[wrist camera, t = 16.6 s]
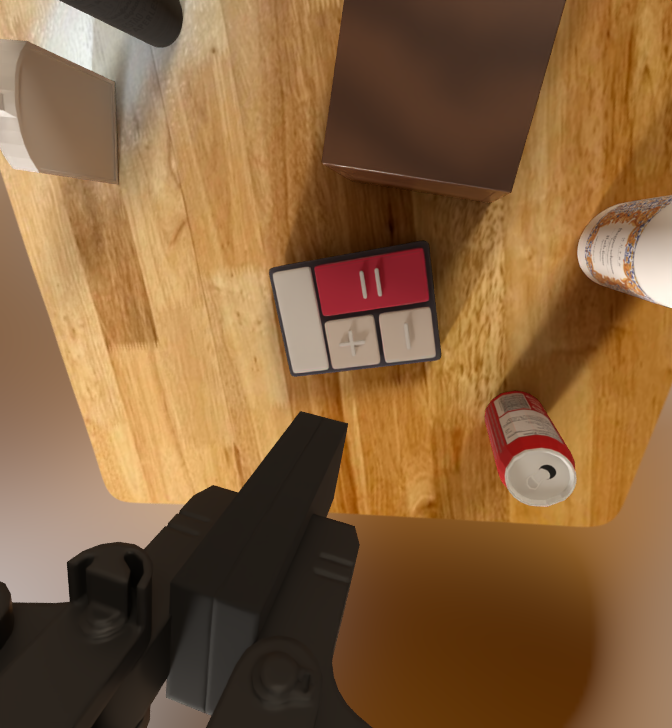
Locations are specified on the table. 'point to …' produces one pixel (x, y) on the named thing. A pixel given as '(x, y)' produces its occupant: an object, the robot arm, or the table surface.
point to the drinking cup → (137, 17)
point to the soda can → (529, 450)
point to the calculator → (358, 310)
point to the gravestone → (56, 115)
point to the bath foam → (631, 249)
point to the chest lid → (439, 87)
